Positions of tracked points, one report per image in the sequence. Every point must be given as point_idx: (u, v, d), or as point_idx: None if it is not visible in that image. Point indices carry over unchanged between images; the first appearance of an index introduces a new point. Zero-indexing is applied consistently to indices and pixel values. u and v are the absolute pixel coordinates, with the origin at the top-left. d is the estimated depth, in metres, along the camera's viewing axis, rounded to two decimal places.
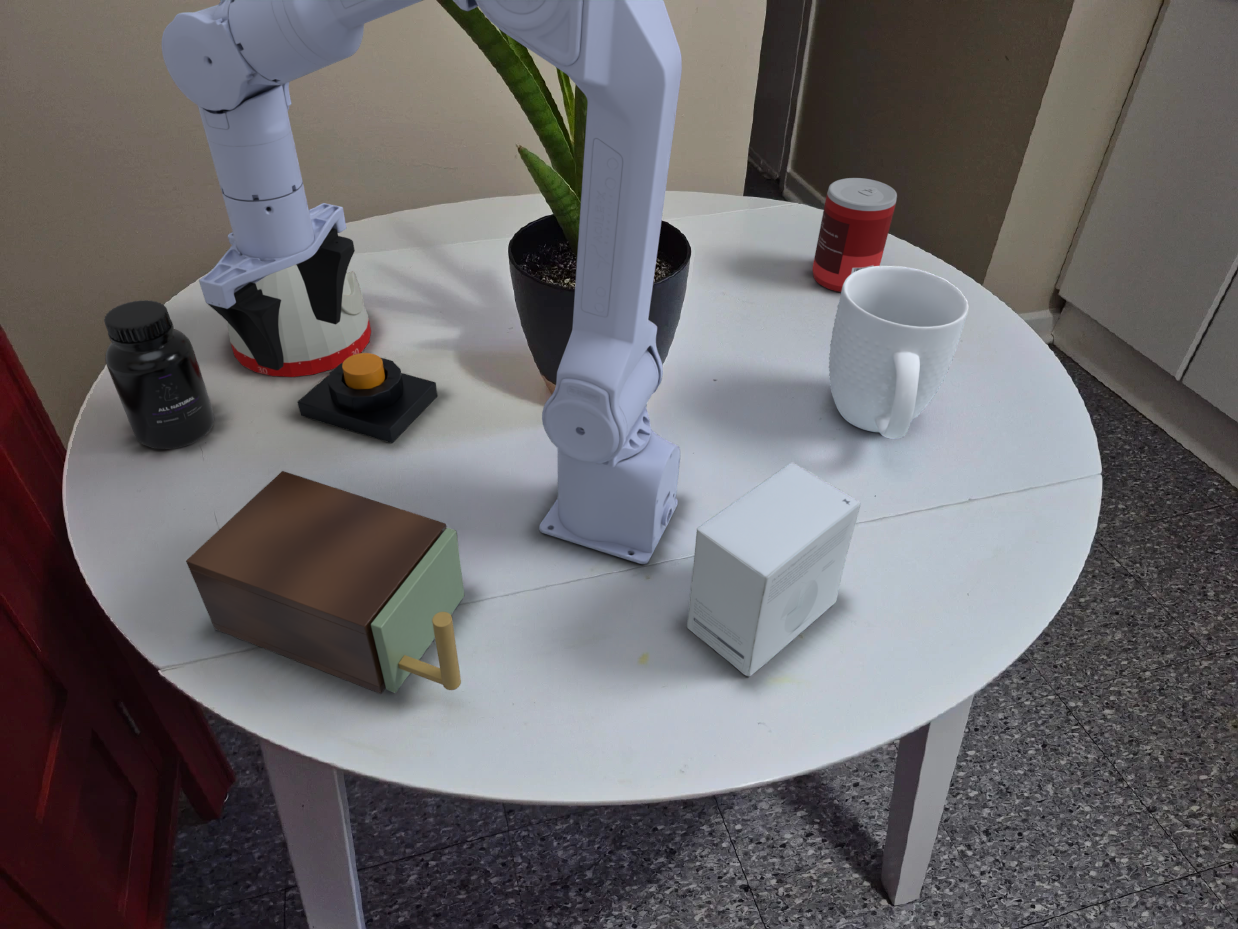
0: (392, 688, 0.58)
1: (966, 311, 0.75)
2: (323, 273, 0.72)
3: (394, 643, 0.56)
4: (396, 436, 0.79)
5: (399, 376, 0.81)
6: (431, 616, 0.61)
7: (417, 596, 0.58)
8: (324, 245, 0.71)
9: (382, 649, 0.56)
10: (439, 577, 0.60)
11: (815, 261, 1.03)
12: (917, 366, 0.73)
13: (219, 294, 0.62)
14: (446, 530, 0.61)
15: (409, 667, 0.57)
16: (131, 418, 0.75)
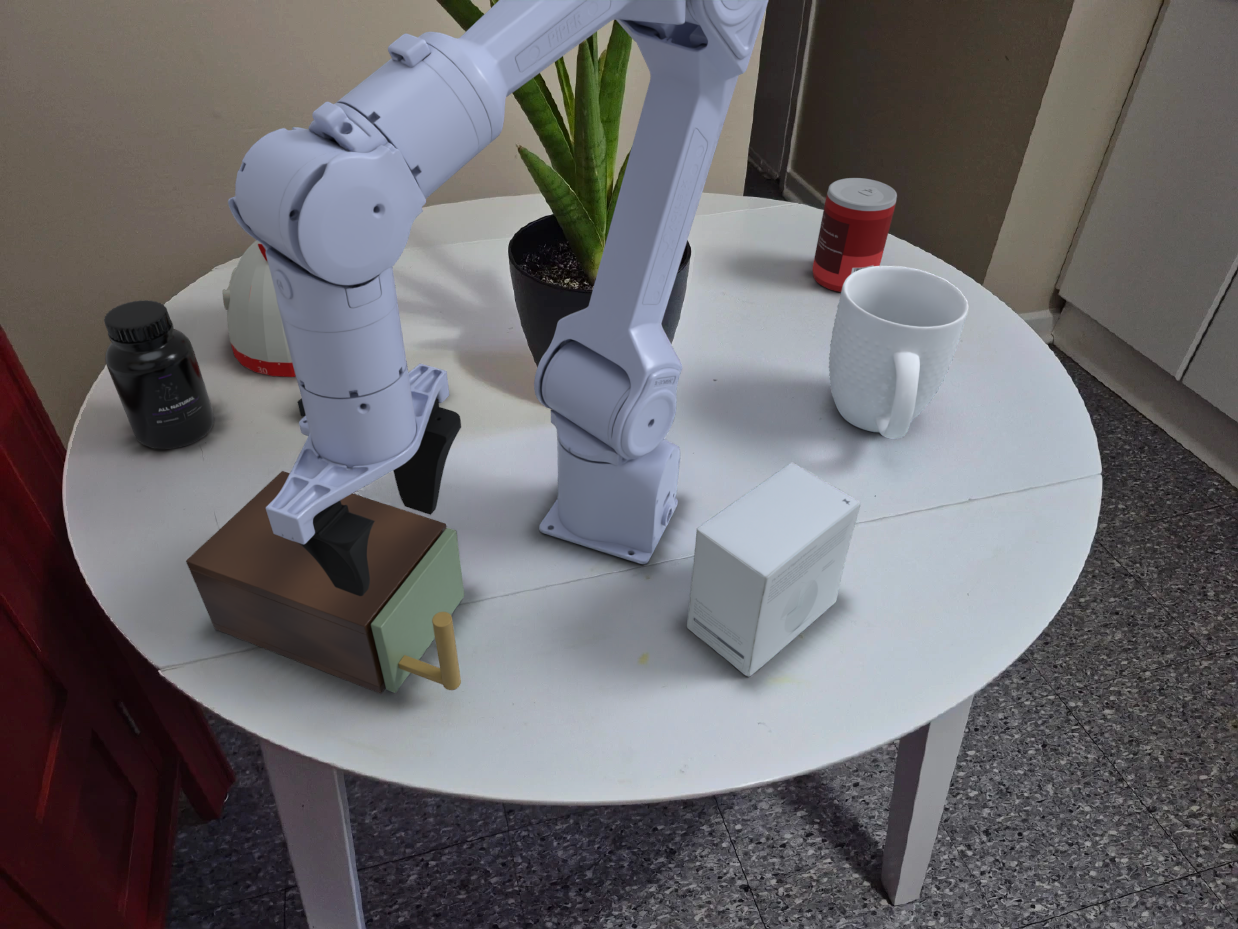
0: (392, 688, 0.58)
1: (966, 311, 0.75)
2: (419, 457, 0.54)
3: (394, 643, 0.56)
4: None
5: None
6: (431, 616, 0.61)
7: (417, 596, 0.58)
8: None
9: (382, 649, 0.56)
10: (439, 577, 0.60)
11: (815, 261, 1.03)
12: (917, 366, 0.73)
13: (294, 528, 0.44)
14: (446, 530, 0.61)
15: (409, 667, 0.57)
16: (131, 418, 0.75)
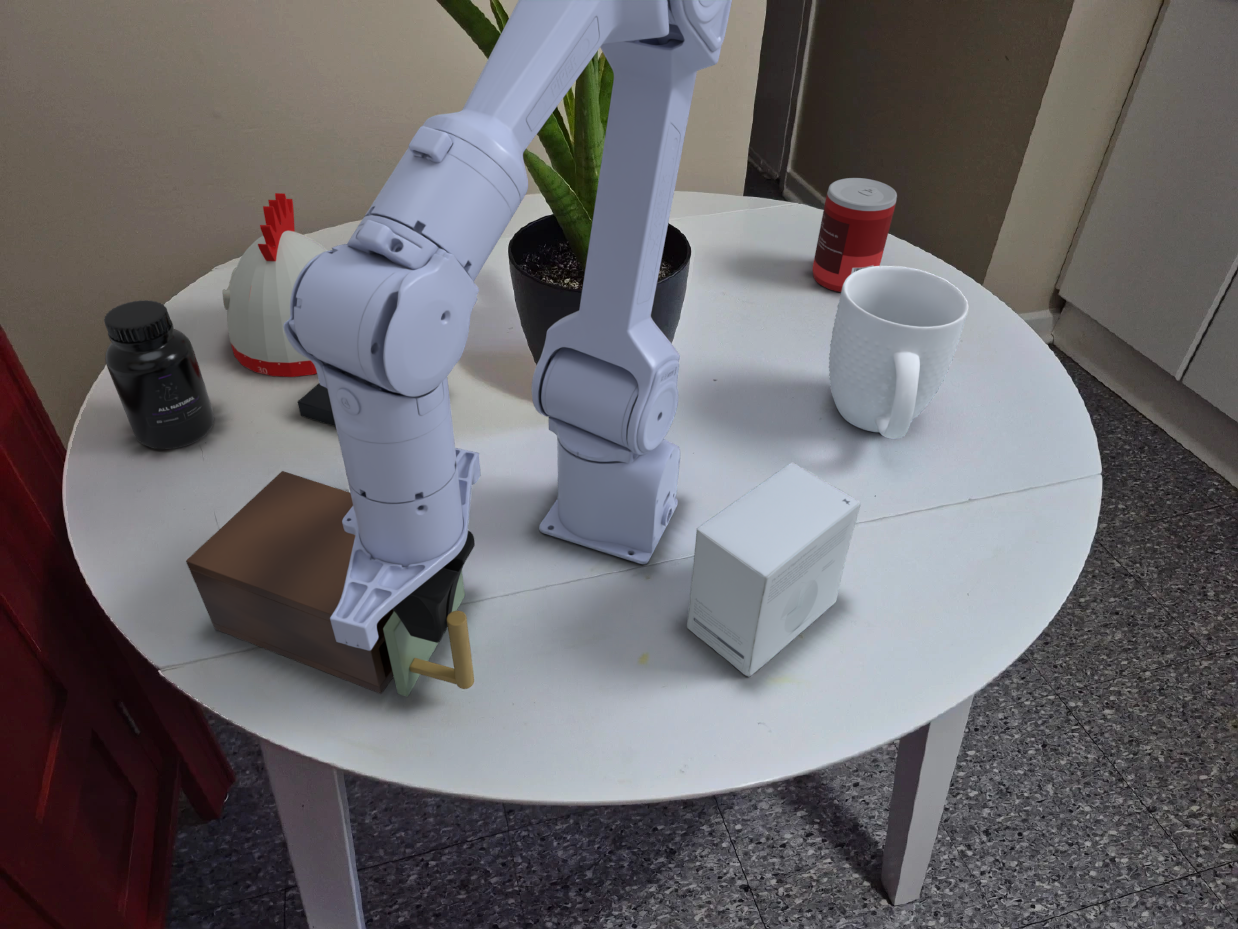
0: (404, 692, 0.58)
1: (966, 311, 0.75)
2: None
3: (405, 646, 0.56)
4: None
5: None
6: None
7: None
8: None
9: (394, 653, 0.55)
10: None
11: (815, 261, 1.03)
12: (917, 366, 0.73)
13: (360, 636, 0.44)
14: None
15: (420, 669, 0.57)
16: (131, 418, 0.75)
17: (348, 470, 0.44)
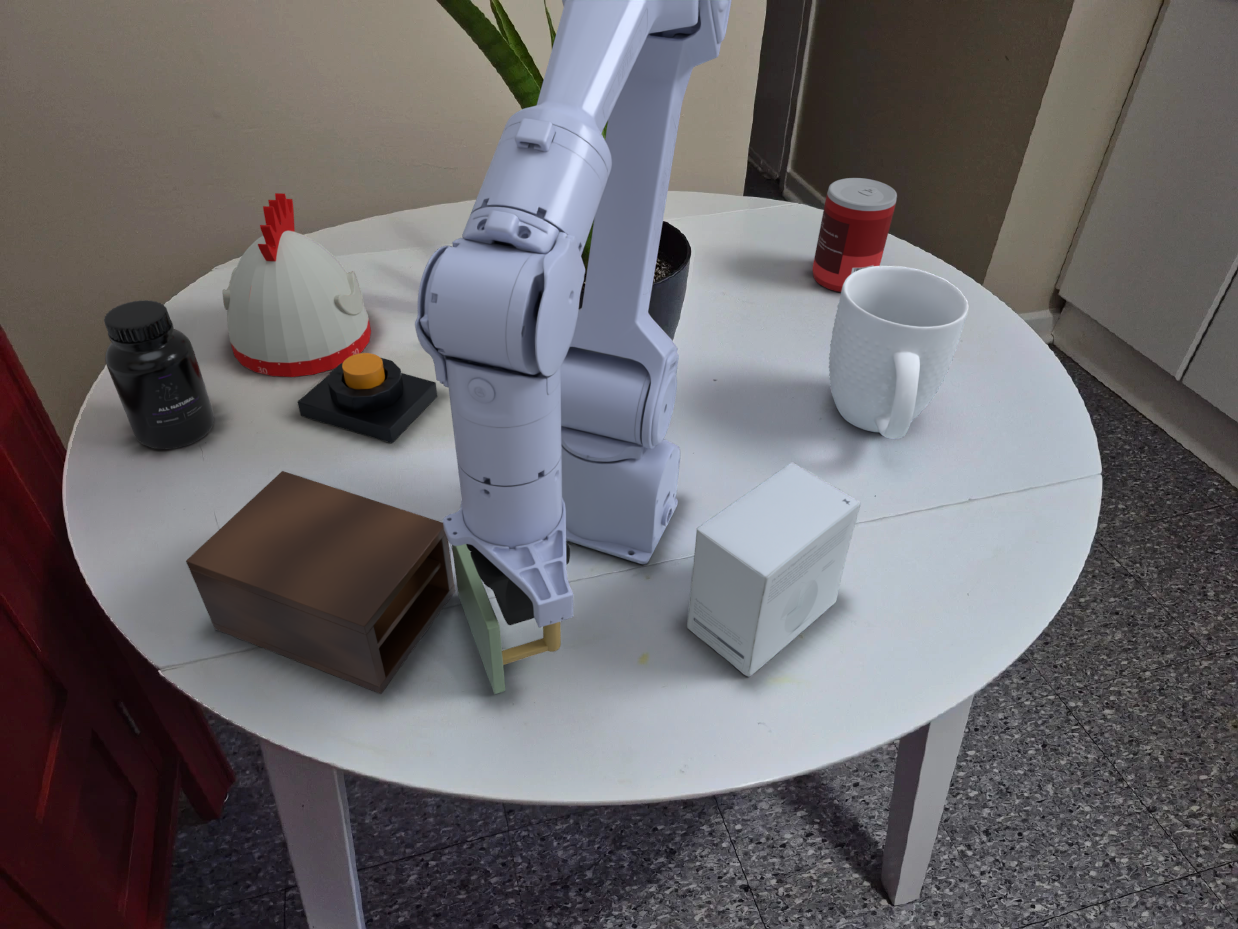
0: (502, 687, 0.59)
1: (966, 311, 0.75)
2: None
3: None
4: (396, 436, 0.79)
5: (399, 376, 0.81)
6: None
7: None
8: None
9: (497, 649, 0.56)
10: None
11: (815, 261, 1.03)
12: (917, 366, 0.73)
13: (567, 606, 0.46)
14: None
15: (512, 656, 0.58)
16: (131, 418, 0.75)
17: (470, 460, 0.45)
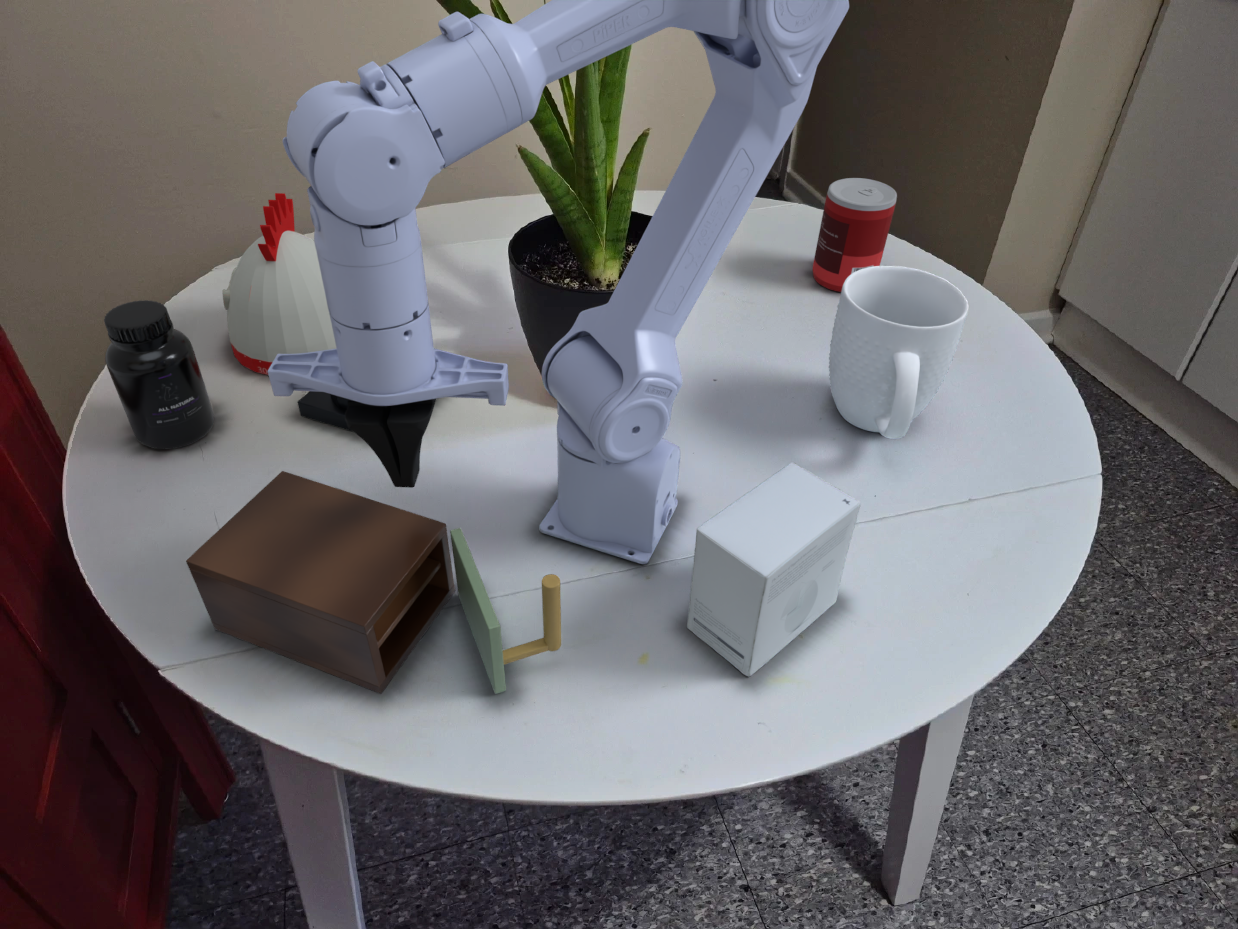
0: (503, 687, 0.59)
1: (966, 311, 0.75)
2: None
3: None
4: None
5: None
6: None
7: None
8: (401, 403, 0.55)
9: (498, 649, 0.56)
10: None
11: (815, 261, 1.03)
12: (917, 366, 0.73)
13: None
14: (452, 532, 0.61)
15: (512, 656, 0.58)
16: (131, 418, 0.75)
17: None
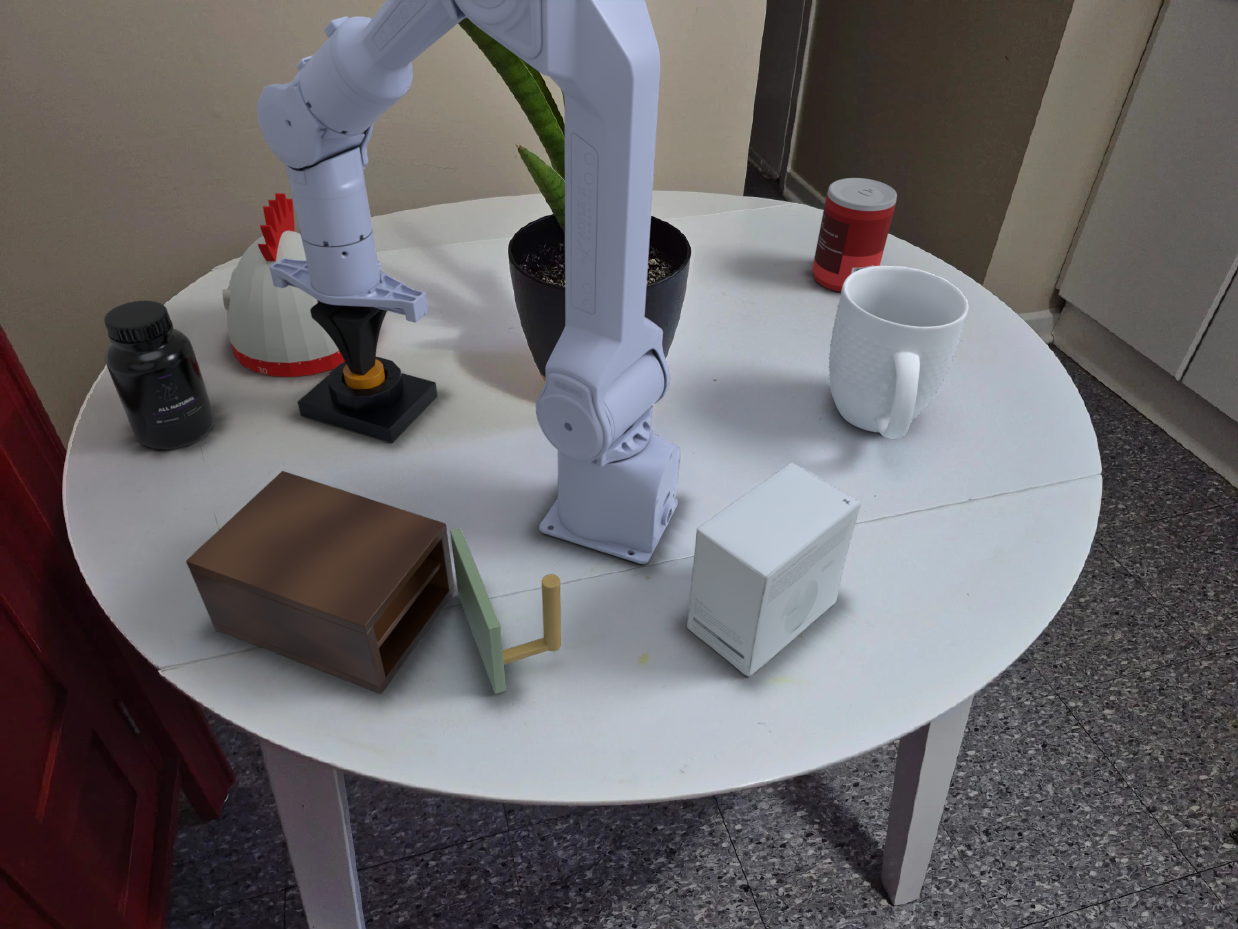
0: (503, 687, 0.59)
1: (966, 311, 0.75)
2: None
3: None
4: (396, 436, 0.79)
5: (399, 376, 0.81)
6: None
7: None
8: (350, 307, 0.75)
9: (498, 649, 0.56)
10: None
11: (815, 261, 1.03)
12: (917, 366, 0.73)
13: None
14: (452, 532, 0.61)
15: (512, 656, 0.58)
16: (131, 418, 0.75)
17: None
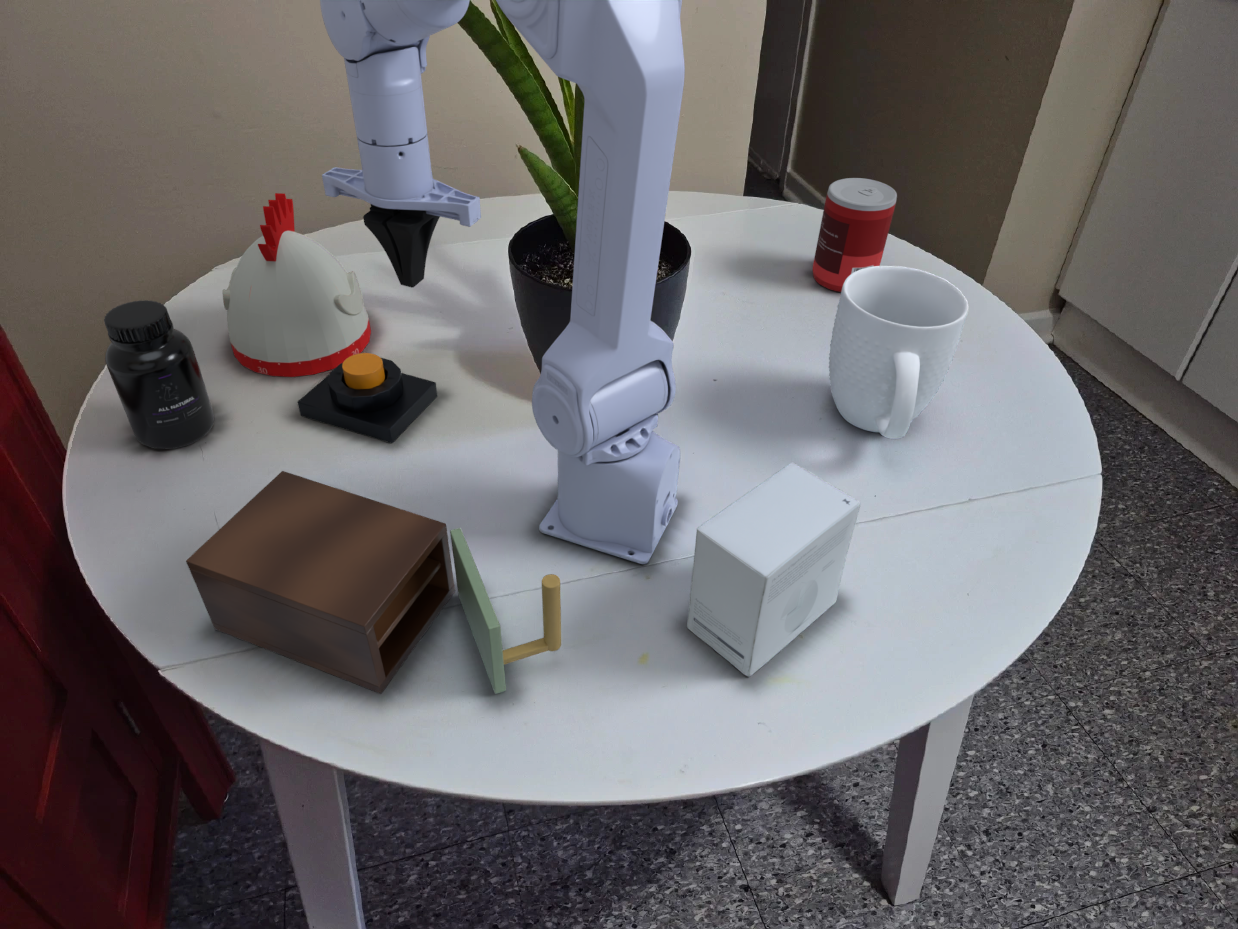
0: (503, 687, 0.59)
1: (966, 311, 0.75)
2: None
3: None
4: (396, 436, 0.79)
5: (399, 376, 0.81)
6: None
7: None
8: (403, 214, 0.75)
9: (498, 649, 0.56)
10: None
11: (815, 261, 1.03)
12: (917, 366, 0.73)
13: None
14: (452, 532, 0.61)
15: (512, 656, 0.58)
16: (131, 418, 0.75)
17: None
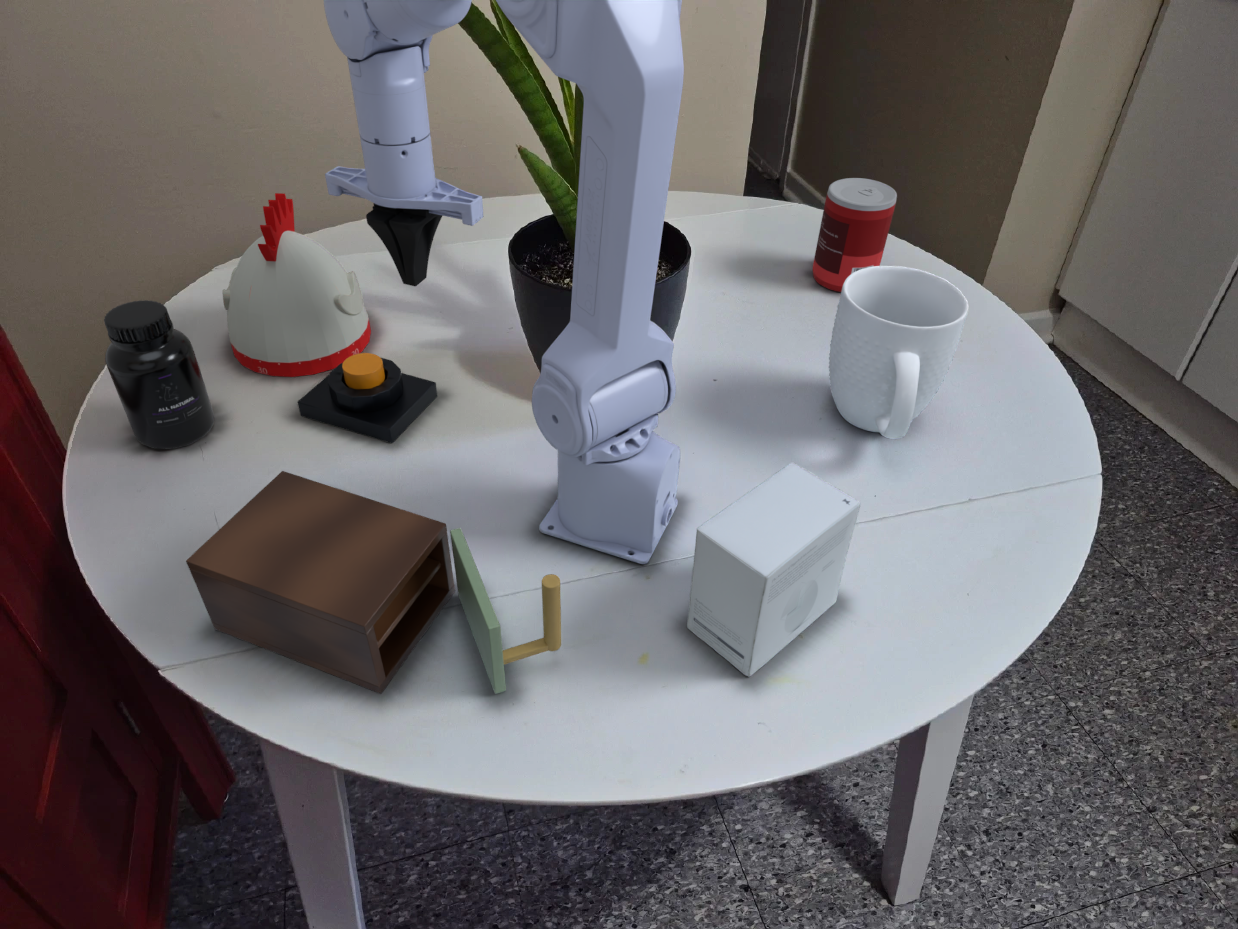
0: (503, 687, 0.59)
1: (966, 311, 0.75)
2: None
3: None
4: (396, 436, 0.79)
5: (399, 376, 0.81)
6: None
7: None
8: (406, 213, 0.75)
9: (498, 649, 0.56)
10: None
11: (815, 261, 1.03)
12: (917, 366, 0.73)
13: None
14: (452, 532, 0.61)
15: (512, 656, 0.58)
16: (131, 418, 0.75)
17: None
